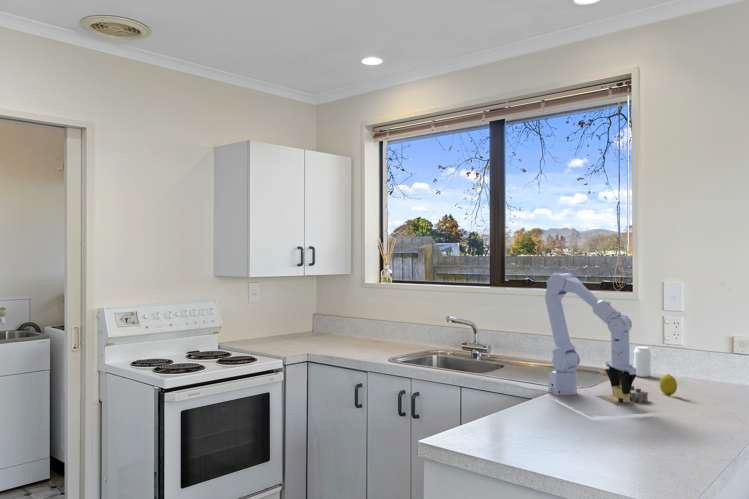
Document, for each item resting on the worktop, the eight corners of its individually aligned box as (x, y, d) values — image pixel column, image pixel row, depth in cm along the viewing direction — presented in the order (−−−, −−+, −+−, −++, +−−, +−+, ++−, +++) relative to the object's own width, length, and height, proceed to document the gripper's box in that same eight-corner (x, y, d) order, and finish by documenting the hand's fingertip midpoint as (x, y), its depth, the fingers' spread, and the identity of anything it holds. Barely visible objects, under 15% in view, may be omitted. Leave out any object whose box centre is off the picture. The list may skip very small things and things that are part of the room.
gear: (618, 398, 199) (618, 389, 199) (609, 394, 205) (609, 386, 205) (633, 397, 200) (633, 388, 200) (623, 393, 206) (623, 385, 206)
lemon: (673, 394, 216) (673, 372, 216) (679, 398, 210) (679, 375, 210) (657, 394, 216) (657, 372, 216) (663, 398, 211) (663, 375, 211)
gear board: (616, 408, 198) (616, 393, 198) (595, 398, 211) (595, 384, 211) (653, 405, 201) (653, 390, 201) (629, 396, 214) (629, 382, 214)
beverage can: (633, 374, 251) (633, 345, 251) (649, 375, 249) (649, 346, 249) (635, 377, 245) (634, 348, 245) (651, 378, 243) (651, 348, 243)
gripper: (644, 354, 196) (644, 396, 196) (618, 347, 210) (618, 386, 210) (624, 355, 195) (625, 397, 195) (600, 348, 209) (600, 387, 209)
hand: (620, 391), depth 203 cm, fingers closed on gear, 5 cm apart
